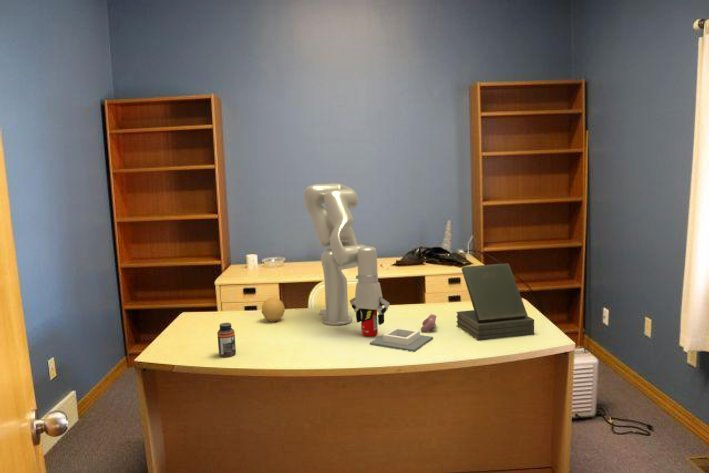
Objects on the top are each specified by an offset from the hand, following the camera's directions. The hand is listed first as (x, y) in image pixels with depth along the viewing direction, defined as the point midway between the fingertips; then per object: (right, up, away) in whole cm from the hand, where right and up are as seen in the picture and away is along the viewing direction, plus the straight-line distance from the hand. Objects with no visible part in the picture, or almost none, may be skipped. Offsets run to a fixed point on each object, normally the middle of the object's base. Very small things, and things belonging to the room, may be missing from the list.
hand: (370, 322), depth 202 cm
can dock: (+11, -6, -9) cm, 15 cm away
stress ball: (-41, -4, +26) cm, 49 cm away
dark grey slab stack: (+48, -4, +1) cm, 48 cm away
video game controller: (+24, -4, +6) cm, 25 cm away
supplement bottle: (-51, -9, -16) cm, 54 cm away
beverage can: (0, -5, +1) cm, 5 cm away
